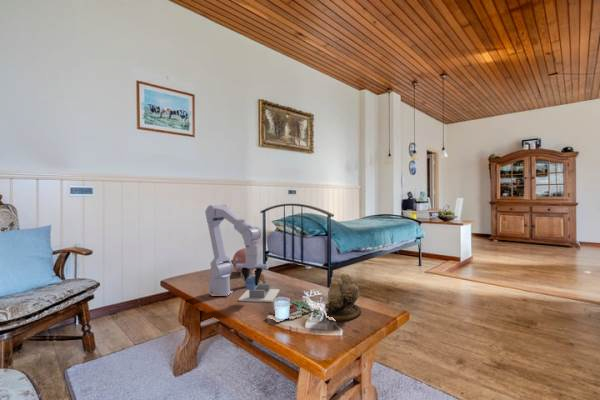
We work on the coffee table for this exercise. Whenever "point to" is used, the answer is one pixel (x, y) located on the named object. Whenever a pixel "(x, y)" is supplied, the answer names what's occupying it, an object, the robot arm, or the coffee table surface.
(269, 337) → the coffee table surface
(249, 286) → the block
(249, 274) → the lion figurine
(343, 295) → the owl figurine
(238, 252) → the balloon
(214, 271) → the robot arm
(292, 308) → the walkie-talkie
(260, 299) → the pocket plate
